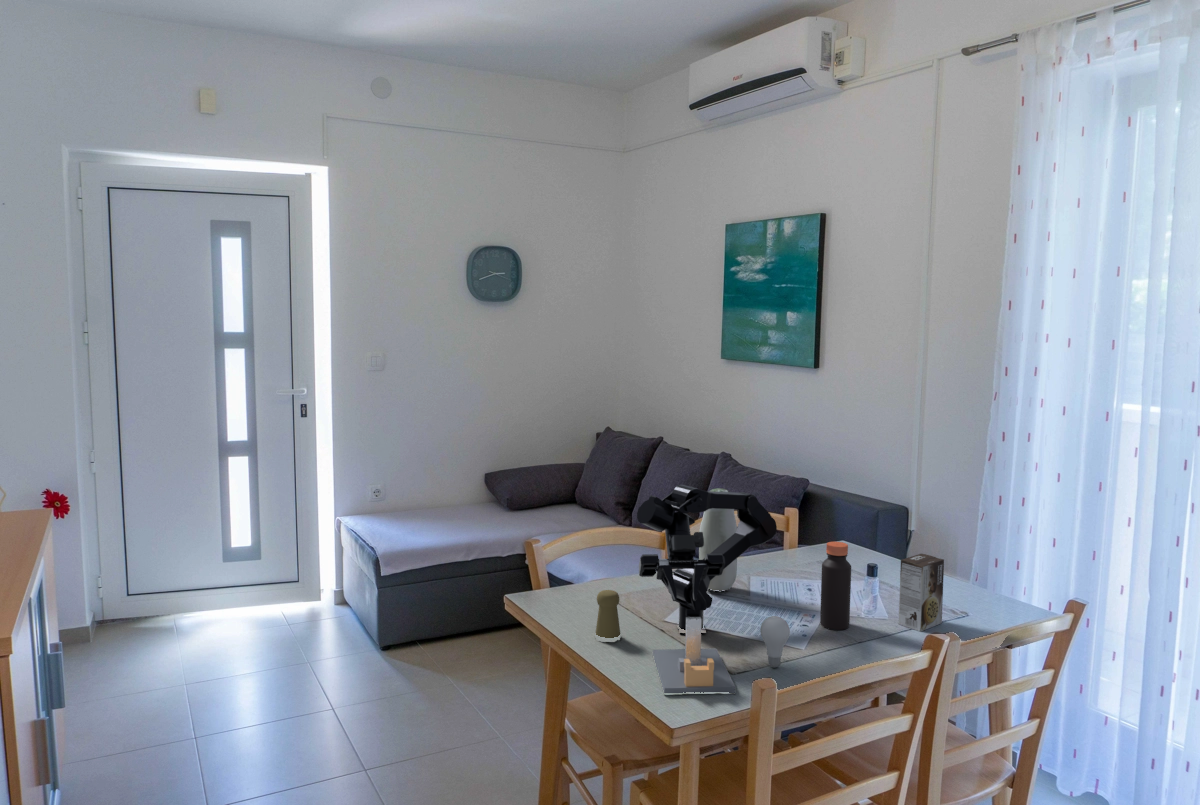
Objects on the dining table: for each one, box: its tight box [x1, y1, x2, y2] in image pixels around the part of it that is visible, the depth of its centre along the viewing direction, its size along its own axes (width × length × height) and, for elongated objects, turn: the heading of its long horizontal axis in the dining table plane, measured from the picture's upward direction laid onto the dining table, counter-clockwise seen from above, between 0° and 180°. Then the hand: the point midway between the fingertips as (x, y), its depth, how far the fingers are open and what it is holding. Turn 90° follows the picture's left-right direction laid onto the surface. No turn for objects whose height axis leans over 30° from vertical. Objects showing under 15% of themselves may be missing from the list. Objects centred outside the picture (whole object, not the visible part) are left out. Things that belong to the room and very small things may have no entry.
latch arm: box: [684, 617, 702, 666], centre depth 169 cm, size 10×3×1 cm
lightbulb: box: [759, 615, 791, 668], centre depth 174 cm, size 6×6×11 cm
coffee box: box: [898, 553, 945, 632], centre depth 199 cm, size 9×6×16 cm
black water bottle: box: [819, 541, 852, 631], centre depth 198 cm, size 7×7×20 cm
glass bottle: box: [698, 487, 738, 591], centre depth 223 cm, size 10×10×28 cm
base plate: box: [652, 647, 736, 694], centre depth 171 cm, size 19×14×6 cm
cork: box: [595, 589, 621, 638], centre depth 190 cm, size 6×6×11 cm
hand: (685, 600), depth 179 cm, fingers open, 4 cm apart
